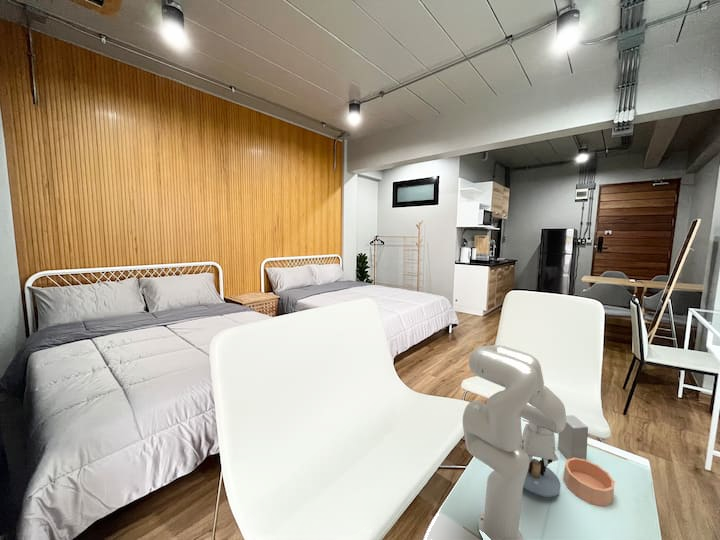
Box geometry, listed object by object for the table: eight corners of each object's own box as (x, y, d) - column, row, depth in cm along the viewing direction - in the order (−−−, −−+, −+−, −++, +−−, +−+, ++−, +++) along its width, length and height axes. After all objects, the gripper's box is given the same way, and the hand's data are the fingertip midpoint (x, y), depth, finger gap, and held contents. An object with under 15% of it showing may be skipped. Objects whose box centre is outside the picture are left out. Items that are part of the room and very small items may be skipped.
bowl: (621, 510, 98) (624, 494, 97) (574, 500, 101) (576, 485, 100) (598, 476, 111) (600, 462, 110) (557, 468, 115) (559, 455, 114)
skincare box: (586, 463, 117) (591, 428, 115) (569, 463, 117) (573, 428, 115) (571, 447, 126) (575, 414, 123) (554, 447, 125) (559, 414, 123)
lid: (568, 501, 98) (570, 485, 97) (516, 490, 102) (518, 474, 101) (549, 465, 113) (551, 451, 113) (505, 457, 117) (507, 443, 116)
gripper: (561, 424, 107) (555, 468, 109) (512, 415, 111) (508, 459, 113) (571, 437, 99) (564, 485, 102) (518, 428, 103) (513, 474, 106)
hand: (534, 471), depth 107 cm, fingers closed on lid, 3 cm apart
